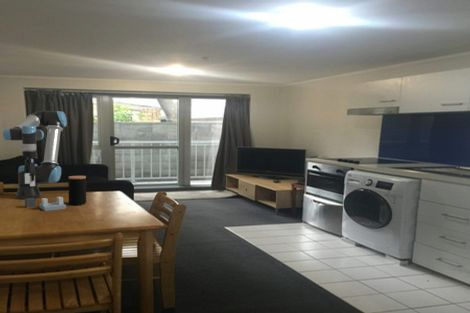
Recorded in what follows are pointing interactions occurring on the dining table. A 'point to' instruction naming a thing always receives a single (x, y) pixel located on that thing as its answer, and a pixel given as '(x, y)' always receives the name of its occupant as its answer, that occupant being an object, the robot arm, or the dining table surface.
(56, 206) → the board
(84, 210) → the dining table surface
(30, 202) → the dark gray block
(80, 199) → the coffee jar
